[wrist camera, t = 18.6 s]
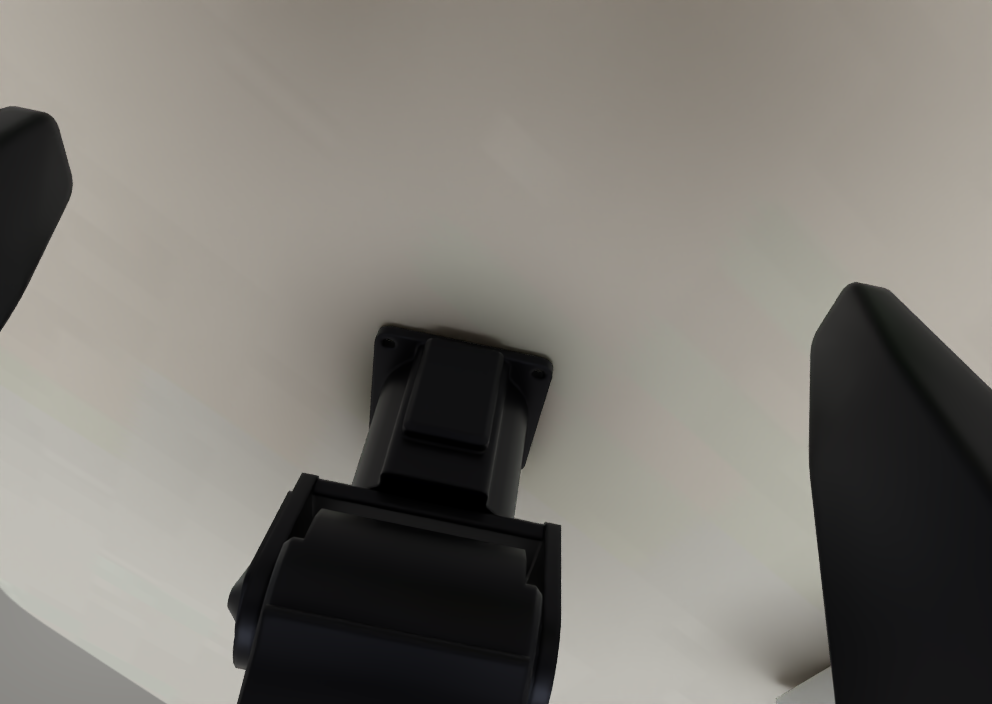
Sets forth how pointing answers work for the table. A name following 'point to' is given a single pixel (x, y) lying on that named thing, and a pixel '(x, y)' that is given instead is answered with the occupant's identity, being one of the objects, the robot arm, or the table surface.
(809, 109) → the table surface
